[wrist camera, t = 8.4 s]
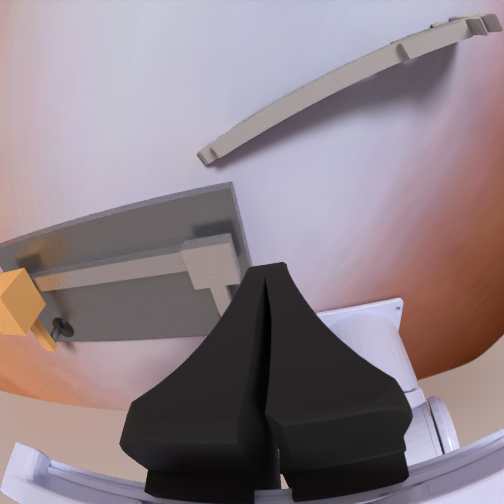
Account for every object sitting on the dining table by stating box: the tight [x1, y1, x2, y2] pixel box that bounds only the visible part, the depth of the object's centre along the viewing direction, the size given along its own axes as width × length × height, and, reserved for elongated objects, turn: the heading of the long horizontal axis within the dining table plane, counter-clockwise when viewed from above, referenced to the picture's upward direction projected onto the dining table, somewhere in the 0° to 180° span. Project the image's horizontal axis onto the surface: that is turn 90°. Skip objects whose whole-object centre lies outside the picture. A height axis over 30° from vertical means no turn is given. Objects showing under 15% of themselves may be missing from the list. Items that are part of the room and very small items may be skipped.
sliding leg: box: [0, 268, 61, 351], centre depth 22 cm, size 8×4×5 cm, turn 11°
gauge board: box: [0, 182, 253, 341], centre depth 22 cm, size 12×24×3 cm, turn 101°
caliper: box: [197, 13, 503, 165], centre depth 13 cm, size 20×1×6 cm, turn 124°
